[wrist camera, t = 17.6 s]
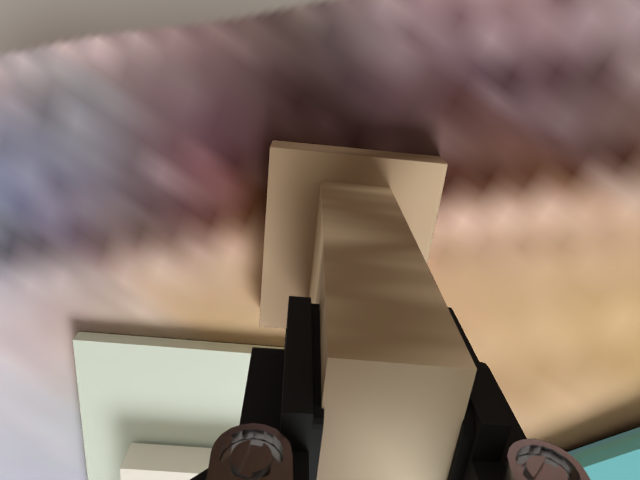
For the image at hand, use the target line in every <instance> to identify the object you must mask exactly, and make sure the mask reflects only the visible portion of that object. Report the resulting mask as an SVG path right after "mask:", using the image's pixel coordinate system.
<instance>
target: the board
mask: <svg viewBox="0 0 640 480" xmlns="http://www.w3.org/2000/svg"><path fill="white" fill-rule="evenodd" d="M73 347H74V357H75V366H76V375H77V384H78V393H79V403H80V412H81V421H82V430H83V439H84V449H85V458H86V467H87V476H88V480H121V477H120V467H121V465H122V463H123V460H124V458H125V456H126V454H127V451H128V449H129V447H130V445H131V443H143V444H158V445H173V446H188V447H203V448H212V447H213V445H214V442H215V441H216V440H217V439H218V437H219V436H220V435H221V434H222V433H224V432H225V431H227V430H228V429H230V428H232V427H235V426H238V425H239V424H240V418H241V412H242V406H243V400H244V394H245V388H246V382H247V376H248V370H249V364H250V358H251V352H252V348H253V347H258V348H274V349H284V347H273V346H260V345H247V344H234V343H221V342H208V341H195V340H182V339H169V338H156V337H143V336H130V335H117V334H104V333H91V332H78V334H77V335H76V336H75V338H74V339H73Z"/></svg>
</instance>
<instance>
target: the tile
mask: <svg viewBox="0 0 640 480" xmlns="http://www.w3.org/2000/svg"><path fill="white" fill-rule="evenodd" d="M211 450H212V448H203V447H188V446H173V445H158V444H143V443H131V445H130V447H129V449H128V451H127V454H126V456H125V458H124V460H123V463H122V465H121V467H120V477H121V480H190V479H192V478H193V477H195V476H196V475H198V474H199V473H201V472H203V471H204V470H206V469H207V468H208V466H209V460H210V454H211Z"/></svg>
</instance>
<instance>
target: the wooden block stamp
mask: <svg viewBox="0 0 640 480" xmlns="http://www.w3.org/2000/svg"><path fill="white" fill-rule="evenodd" d="M447 165H448V164H447V163H446V162H445V161H444V160H443V159H442V158H441V157H440V156H432V155H422V154H411V153H401V152H391V151H380V150H370V149H360V148H349V147H339V146H329V145H318V144H308V143H298V142H287V141H277V140H273V141H272V143H271V146H270V155H269V172H268V188H267V204H266V221H265V237H264V253H263V270H262V286H261V302H260V319H259V327H269V328H281V329H286V324H287V312H288V300H289V296H298V297H311V303H313V304H319V306H320V344H321V408H322V409H324V426H323V434H322V442H321V449H320V457H319V465H318V472H317V480H447V478H448V474H449V471H450V467H451V463H452V459H453V455H454V452H455V448H456V444H457V440H458V437H459V433H460V429H461V425H462V422H463V420H464V416H465V413H466V409H467V405H468V401H469V398H470V394H471V390H472V387H473V383H474V379H475V375H476V372H477V368H476V366H475V364H474V362H473V359H472V357H471V355H470V353H469V351H468V349H467V347H466V345H465V343H464V341H463V339H462V336H461V334H460V332H459V330H458V328H457V326H456V324H455V322H454V320H453V318H452V316H451V313H450V311H449V309H448V307H447V305H446V303H445V301H444V299H443V297H442V295H441V292H440V290H439V288H438V286H437V284H436V282H435V280H434V278H433V276H432V274H431V272H430V269H429V267H428V260H429V255H430V250H431V245H432V240H433V235H434V230H435V225H436V220H437V215H438V210H439V205H440V200H441V195H442V190H443V185H444V180H445V175H446V170H447Z"/></svg>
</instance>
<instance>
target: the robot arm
mask: <svg viewBox="0 0 640 480" xmlns="http://www.w3.org/2000/svg"><path fill="white" fill-rule="evenodd" d="M448 309H449V311H450V313H451V316H452V318H453V320H454V322H455V324H456V326H457V328H458V330H459V332H460V334H461V336H462V339H463V341H464V343H465V345H466V347H467V349H468V351H469V353H470V355H471V357H472V359H473V362H474V364H475V366H476V368H477V372H476V375H475V379H474V383H473V387H472V390H471V394H470V398H469V401H468V405H467V409H466V413H465V416H464V420H463V422H462V425H461V429H460V433H459V437H458V440H457V444H456V448H455V452H454V455H453V459H452V463H451V467H450V471H449V474H448V478H447V480H591V479H590V478H589V476H588V474H587V472H586V471H585V470H584V468H583V467H582V466H581V464H580V463H579V462H578V461H577V460H576V459H575V458H574V457H572V456H571V455H570V454H569V453H567V452H566V451H564V450H563V449H561V448H559V447H558V446H555V445H553V444H550V443H548V442H545V441H541V440H536V439H527V438H526V436H525V434H524V433H523V431H522V429H521V427H520V425H519V423H518V421H517V419H516V418H515V416H514V414H513V412H512V410H511V408H510V406H509V404H508V403H507V401H506V399H505V397H504V395H503V393H502V391H501V389H500V388H499V386H498V384H497V382H496V380H495V378H494V376H493V374H492V372H491V371H490V369H489V367H488V366H487V365H486V364H485V363H483V362H479V360H478V358H477V356H476V354H475V353H474V351H473V349H472V347H471V345H470V343H469V341H468V339H467V337H466V335H465V333H464V331H463V329H462V327H461V325H460V323H459V321H458V319H457V317H456V316H455V314H454V312H453V310H452V308H449V307H448ZM323 426H324V409H322V408H321V344H320V306H319V304H313V303H311V297H298V296H289V300H288V312H287V324H286V335H285V347H284V349H274V348H258V347H253V348H252V352H251V358H250V364H249V370H248V376H247V382H246V388H245V394H244V400H243V406H242V412H241V418H240V424H239V425H238V426H235V427H232V428H230V429H228V430H227V431H225V432H224V433H222V434H221V435H220V436H219V437H218V439H217V440H216V441H215V442H214V445H213V447H212V450H211V454H210V460H209V466H208V468H207V469H206V470H204V471H203V472H201V473H199V474H198V475H196V476H195V477H193V478H192V479H190V480H317V472H318V465H319V457H320V449H321V442H322V434H323Z"/></svg>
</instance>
